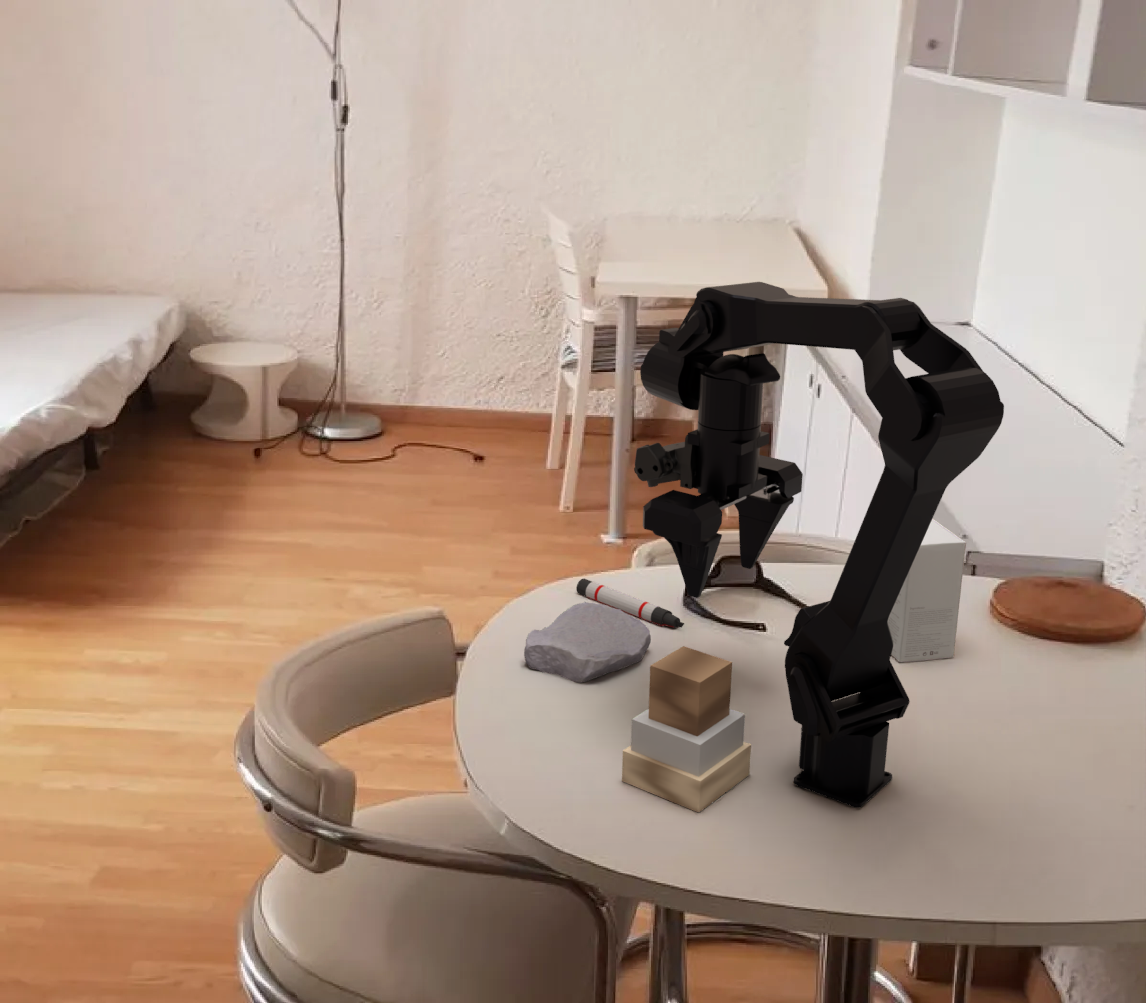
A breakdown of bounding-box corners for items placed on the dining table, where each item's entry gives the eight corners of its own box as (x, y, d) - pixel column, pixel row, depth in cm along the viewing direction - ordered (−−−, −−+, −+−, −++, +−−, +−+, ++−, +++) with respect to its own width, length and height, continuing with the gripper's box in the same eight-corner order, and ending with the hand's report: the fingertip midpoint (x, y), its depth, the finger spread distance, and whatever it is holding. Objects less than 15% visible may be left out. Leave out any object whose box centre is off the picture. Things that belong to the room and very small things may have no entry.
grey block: (743, 744, 121) (745, 714, 120) (698, 776, 116) (700, 744, 115) (676, 720, 125) (677, 690, 124) (630, 750, 120) (631, 719, 119)
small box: (954, 658, 145) (968, 542, 141) (898, 664, 144) (910, 546, 140) (920, 627, 153) (931, 515, 148) (866, 631, 151) (876, 519, 147)
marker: (576, 596, 160) (576, 580, 160) (587, 592, 162) (588, 576, 161) (678, 637, 150) (678, 620, 150) (689, 631, 152) (690, 614, 151)
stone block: (656, 665, 147) (579, 625, 152) (664, 627, 145) (586, 588, 150) (594, 711, 138) (514, 668, 143) (602, 671, 136) (521, 628, 141)
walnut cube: (729, 714, 120) (732, 662, 118) (697, 736, 116) (699, 682, 115) (681, 697, 123) (683, 646, 121) (648, 718, 119) (650, 665, 118)
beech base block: (749, 774, 122) (751, 744, 121) (698, 812, 116) (700, 781, 115) (674, 746, 127) (675, 716, 126) (621, 781, 121) (622, 750, 120)
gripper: (710, 387, 138) (703, 535, 143) (596, 427, 124) (593, 589, 129) (810, 407, 131) (799, 561, 137) (701, 452, 118) (693, 621, 123)
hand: (721, 581), depth 131 cm, fingers open, 9 cm apart
